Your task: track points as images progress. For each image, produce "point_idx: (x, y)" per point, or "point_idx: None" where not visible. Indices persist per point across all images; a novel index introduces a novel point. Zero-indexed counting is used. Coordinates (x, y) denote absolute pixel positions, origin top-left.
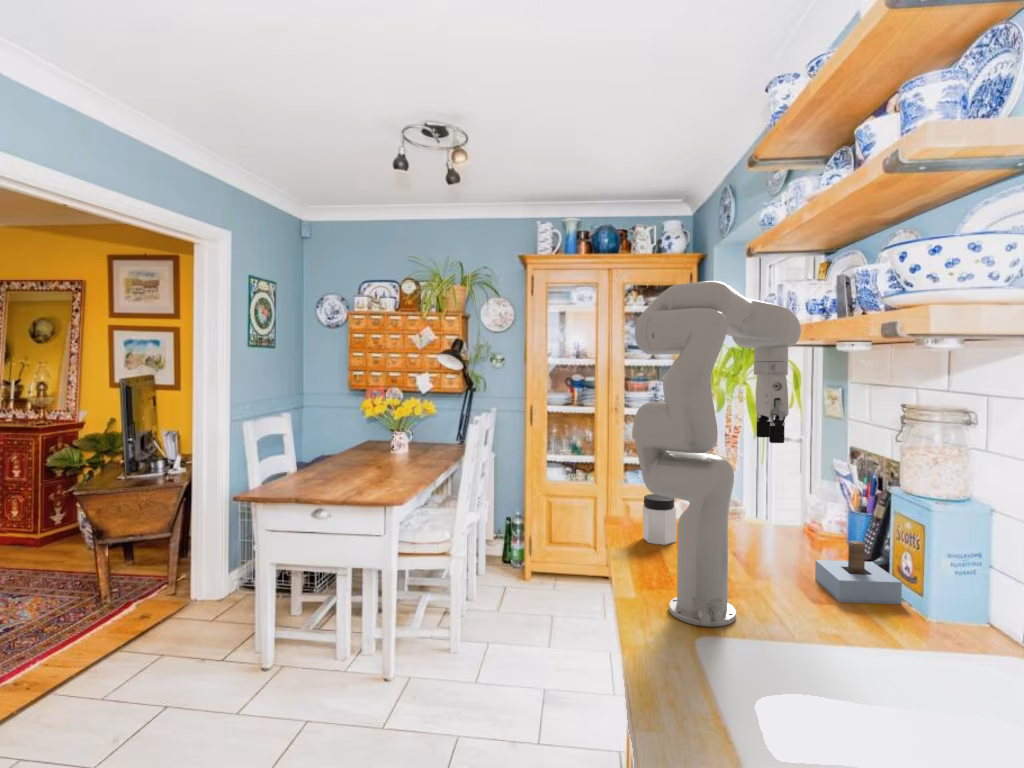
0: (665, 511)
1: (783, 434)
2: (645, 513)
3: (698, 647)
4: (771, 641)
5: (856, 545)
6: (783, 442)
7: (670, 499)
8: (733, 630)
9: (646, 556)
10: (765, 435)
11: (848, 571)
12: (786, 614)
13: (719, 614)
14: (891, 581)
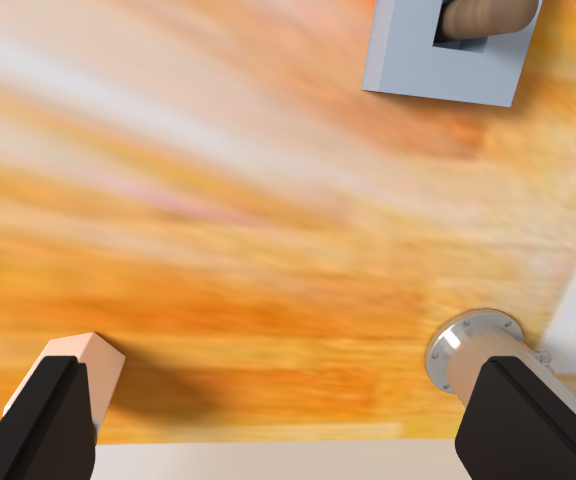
0: (100, 422)
1: (572, 421)
2: None
3: (556, 370)
4: (571, 284)
5: (530, 20)
6: (510, 358)
7: None
8: (529, 322)
9: (209, 396)
10: (84, 412)
11: (456, 39)
12: (503, 229)
13: (550, 358)
14: None
